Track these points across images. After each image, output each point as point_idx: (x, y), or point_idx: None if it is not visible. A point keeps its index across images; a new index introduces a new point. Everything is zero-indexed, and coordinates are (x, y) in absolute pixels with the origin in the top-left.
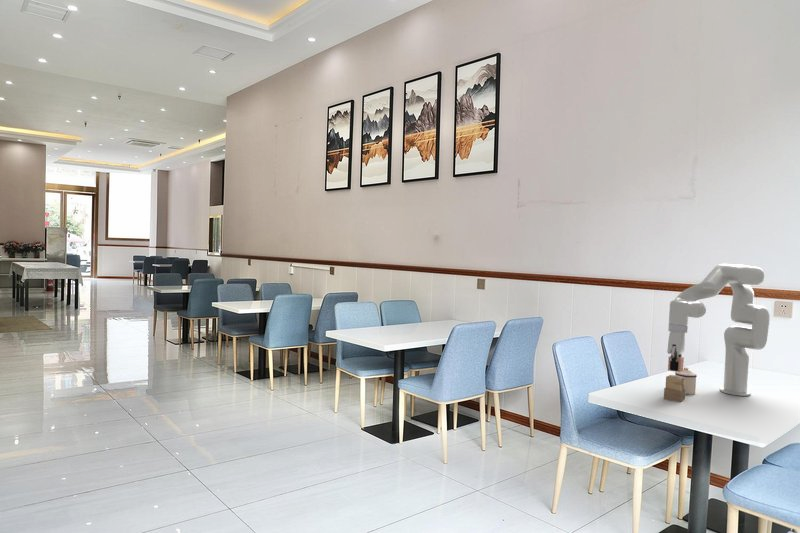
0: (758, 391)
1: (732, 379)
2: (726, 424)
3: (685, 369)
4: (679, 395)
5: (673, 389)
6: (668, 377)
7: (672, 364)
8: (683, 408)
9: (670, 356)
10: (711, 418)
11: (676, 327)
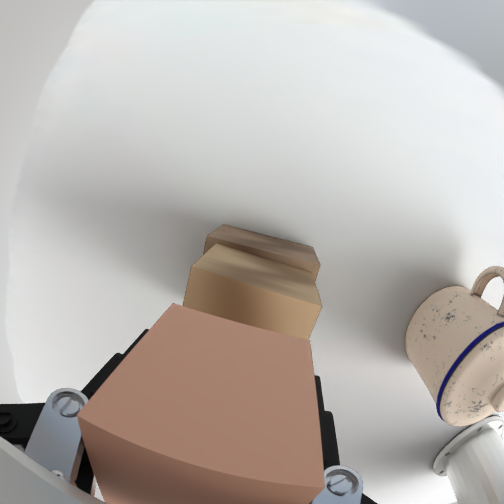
0: None
1: (467, 478)
2: (38, 377)
3: (496, 396)
4: None
5: None
6: (188, 284)
7: (96, 381)
8: (100, 301)
9: (167, 462)
10: (55, 361)
11: None
